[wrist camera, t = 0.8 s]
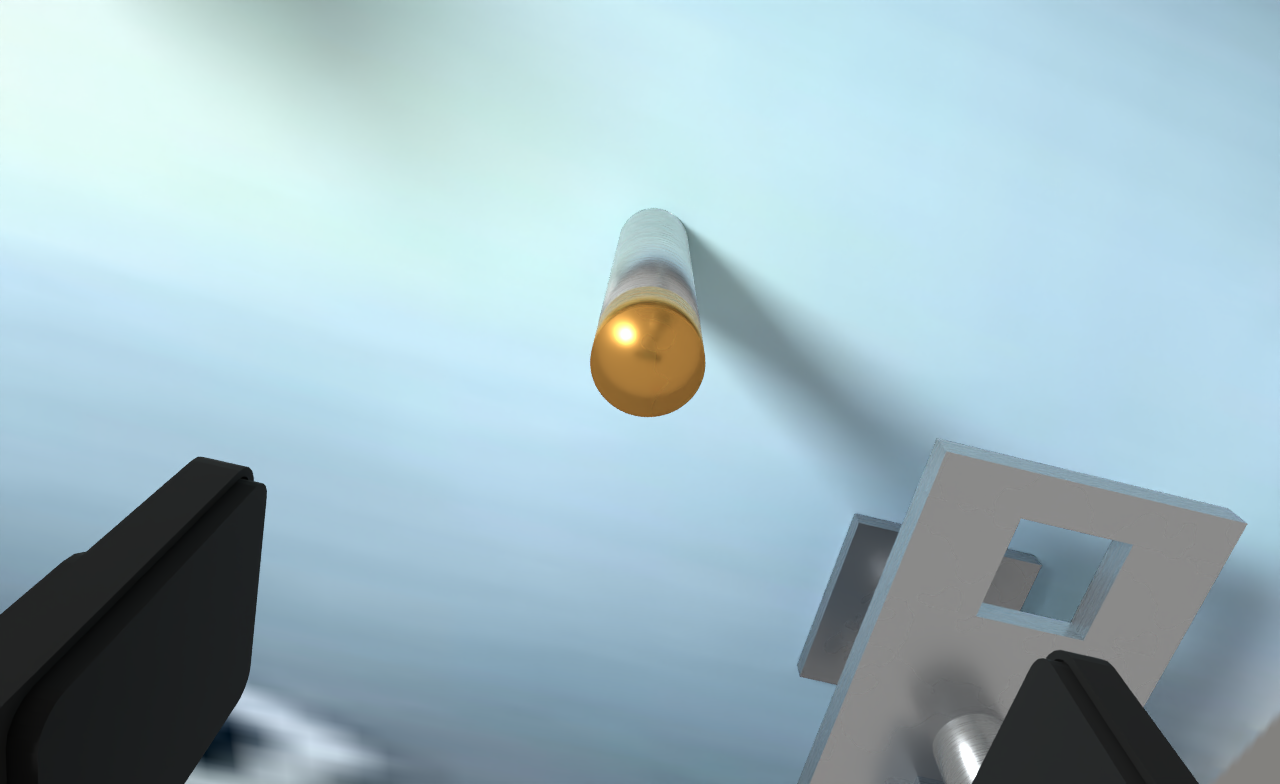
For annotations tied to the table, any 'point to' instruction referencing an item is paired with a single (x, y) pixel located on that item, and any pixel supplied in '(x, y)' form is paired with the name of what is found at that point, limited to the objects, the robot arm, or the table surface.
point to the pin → (649, 320)
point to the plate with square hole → (990, 610)
